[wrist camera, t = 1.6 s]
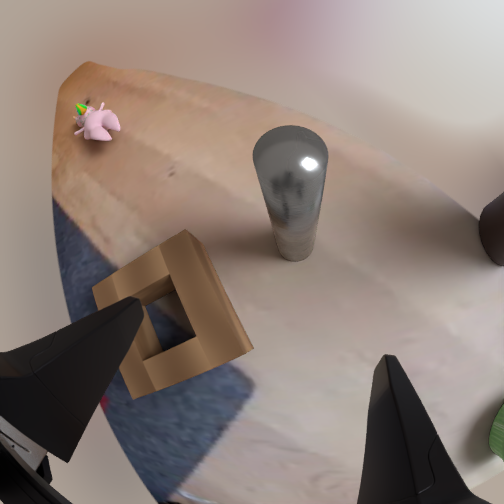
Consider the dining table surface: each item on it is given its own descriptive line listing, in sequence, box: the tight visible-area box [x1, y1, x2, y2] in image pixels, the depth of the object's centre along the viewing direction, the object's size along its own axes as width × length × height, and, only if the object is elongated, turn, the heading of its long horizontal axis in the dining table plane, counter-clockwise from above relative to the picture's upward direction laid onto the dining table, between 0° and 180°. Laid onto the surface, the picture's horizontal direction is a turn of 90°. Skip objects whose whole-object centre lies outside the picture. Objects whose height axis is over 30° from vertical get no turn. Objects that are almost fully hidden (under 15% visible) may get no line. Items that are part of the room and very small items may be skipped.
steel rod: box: [253, 125, 328, 261], centre depth 16 cm, size 3×3×13 cm
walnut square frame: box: [92, 229, 254, 399], centre depth 21 cm, size 10×10×4 cm
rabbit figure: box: [74, 103, 120, 141], centre depth 28 cm, size 6×6×15 cm
